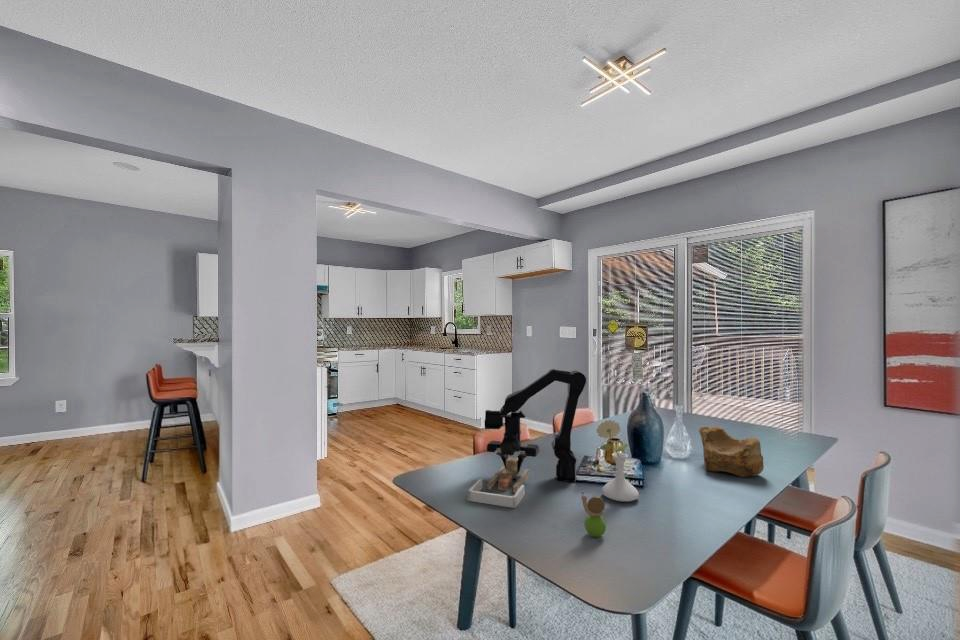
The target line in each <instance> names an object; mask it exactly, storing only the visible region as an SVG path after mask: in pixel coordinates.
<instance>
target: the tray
mask: <svg viewBox="0 0 960 640" xmlns="http://www.w3.org/2000/svg"><path fill="white" fill-rule="evenodd" d="M481 490H483V479H481V478H479V479H478V480H477V481H476V482H475V483H474V484H473V485H471V487H470V488H469V489H468V490H467V496H466V497H467V500H466V501H469V502H475V503H482V504H485V505H486V504H488V505H495V506H499V507H500V506H501V507H507V508H512V509H516V508H517V506H518V505H519V503H520V502H521V501H522V499H523V498H524V496H525V494H526V491H525V484H523V485H521V486H520V488H519V489H518V491H517V492H516V493H514V495H512V496H511V495H505V494H499V493H491V492H486V491H485V492H484V491H481Z"/></svg>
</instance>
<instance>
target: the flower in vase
mask: <svg viewBox="0 0 960 640" xmlns="http://www.w3.org/2000/svg"><path fill="white" fill-rule="evenodd" d="M595 431H596V433H597V436H598V437H600V438H603V439H610V443H611V444H602V445H601V446H600V447H599V448H598V449H599V450H603V451H610V450H611V449H612V448H613V450H614V452H613V453H611V457H612V458H613V459H614V461H615V467H616V470H615V471H616V474H615V477H614V478H613V479H612V480H610V481H609V482H607V483H606V484H605V485H604V486H603V487H602V489H601V493H602V494H603V495H604V496H605V497H607V498H608V499H610V500H614V501H615V502H616V501H617V502H624V503H625V502H633V501H635V500H637V499H638V498H639V496H640V493H639V491H638V489H637V488H636V487H635V486H634V485H632V484H631V483H630V482H629V481H628V480H627V479H626V478H625V472H624V471H625V463H626V460H627V458H628V457H629V454H628V453H623V451H625V450H626V449H627V447H628V443H625V444H621V445H618V447H617V449H616V448H615V446H614V445H613V437H617V436H618V434H619V433H620V432H621V431H622V430H621V426H620V423H619V422H616V421H615V420H611V419H609V420H604V421H602V422H601V423H600V424H598V425H597V428H596V429H595Z"/></svg>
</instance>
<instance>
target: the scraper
mask: <svg viewBox="0 0 960 640" xmlns="http://www.w3.org/2000/svg"><path fill="white" fill-rule="evenodd" d="M517 468H518V457H509V456H508V459H507V460H506V472H505V473H502V476H503V475H504V474H508V475H512V480H513V479H514V480H518V479H519V478H520V477H521V475H520V472H519V473H518V469H517Z"/></svg>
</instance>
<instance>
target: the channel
mask: <svg viewBox="0 0 960 640" xmlns="http://www.w3.org/2000/svg"><path fill="white" fill-rule="evenodd" d="M502 473H504V474H506V469H505V466H504V465H502V466H501V468H500V469H499V470H498V471H497V472H496V473H495V474H494V475H493V476H492V477H491V478H490V480H488V481H487V482H486V489H487V490H491V489H492V488H494V486H495V484H498V481H499V480H500V478H502ZM520 476H521V477H520V478H519V479H517V481H516V482H515V483H514V485H513V487H512V493H513V494H516V492H517V491H518V489H519V488H520V486H521V485H524V483H525V482H526V480H527V479H528V477H529V476H530V469H529V468H526V469H525V470H524V471H523V472H522V474H521V475H520Z"/></svg>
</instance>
